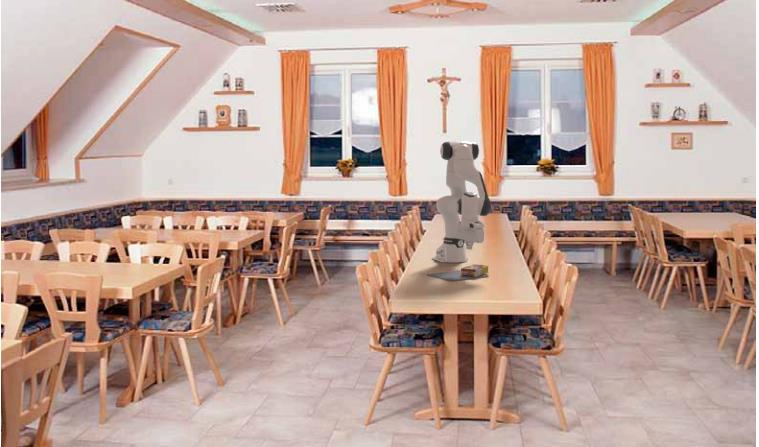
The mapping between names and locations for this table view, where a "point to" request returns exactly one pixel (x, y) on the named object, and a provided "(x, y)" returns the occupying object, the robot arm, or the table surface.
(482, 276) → the mat
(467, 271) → the candy box
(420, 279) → the table surface
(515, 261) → the table surface
